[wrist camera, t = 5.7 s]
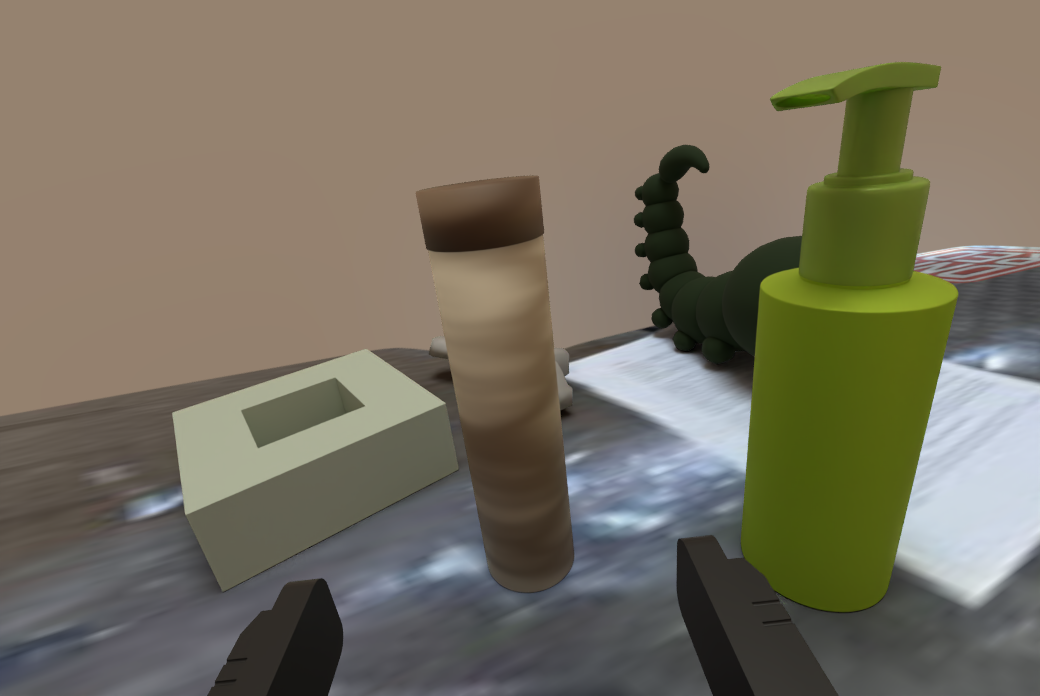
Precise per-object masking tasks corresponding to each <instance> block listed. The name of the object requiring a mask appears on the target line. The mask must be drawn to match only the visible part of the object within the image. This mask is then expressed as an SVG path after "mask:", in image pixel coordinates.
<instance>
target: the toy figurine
mask: <svg viewBox="0 0 1040 696" xmlns="http://www.w3.org/2000/svg"><path fill="white" fill-rule="evenodd" d="M690 167H695V168H696V169H698V170H699V171H700V172H701V173H707V172H708V170H709V163H708V160H707V158H706V156H705V154H704V153H703V152H702V151H701V150H700V149H699V148H697V147H695V146H691V145H682V146H678V147H675V148H673V149H672V150H671V151H669V152H668V153H667V154H666V155H665V156H664V157H663V159H662V160H661V162H660V166H659V174H655V175H653V176H651V177H649V178H648V179H647V180H646V182H645V183H644V185H643V186H640V187H639V188H637V189H636V191H635V196H636V198H637V199H638V200H643V202H644V204H645V205H646V207H645V208H644V210H643V212H640V213H638V214H637V215H636V216H635V218H634V223H635V225H637V226H638V227H641V228H642V227H644V228H645V230H646V231H647V233H648V236H647V237H646V240H645V243H641V244H638V245H637V246H636V248H635V253H636V255H637V256H638V257H646V256H647V258H648V260H649V261H650V262H651V263H650V266H649V270H648V274H644V275H643V276H641V279H640V283H639V284H640V286H641V288H642V289H645V290H652V289H653V288H654V289H655V290H656V291H657V292H658V293H659V300H660V306H661V308H659V309H657V310H655V311H654V312H653V313H652V322H653V324H654V325H655V326H657V327H658V328H666V327H668V326H669V325H671V324H672V322H674V324H675V326H676V328H677V330H678V331H677V332H676V333H675V335H674V338H673V341H674V344H675V346H676V348H677V349H680V350H684V351H689V350H691V349H693V348H694V347H695V345H696V343H701V344H702V353H703V355H704V356H705V358H706V359H707V360H709V361H710V362H713V363H715V364H720V363H723V362H726V361H728V360H730V359H732V357H733V356H734V355H735V351H747V352H748V353H750V354H751V355H753V356H755V347H756V334H757V321H758V307H759V294H760V284H761V282H762V281H763V280H764V279H765V278H766V277H768V276H770V275H772V274H775V273H778V272H781V271H785V270H790V269H795V268H799V262H800V252H801V243H802V236H796V237H786V238H781V239H778V240H775V241H773V242H770V243H767V244H765V245H762V246H760V247H759V248H757V249H755V250H754V251H752V252H751V253H750V254H748V255H747V256H746V257H745V258H744V259H742V260H741V261H740V263H739V264H738V265H737V266H736V267H735V269H734V270H733V271H729V272H726V273H724V274H722V275H719V276H717V277H705V276H704V275H702V274H701V273H698V272H697V266H696V262H695V261H694V259H693V257H692V256H691V255H690V254H688V250H689V239H688V236H687V234H686V232H685V231H684V230H683V229H682V228H681V226H682V223H683V218H684V212H683V208H682V206H681V205H680V203H679V202H678V201H677V200H676V199H677V197H678V192H679V188H678V185H677V182H676V181H678V180H679V179H681V178H682V177H683V176H684V175H685V173H686V172H687V171H688V170H689V168H690Z"/></svg>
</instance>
